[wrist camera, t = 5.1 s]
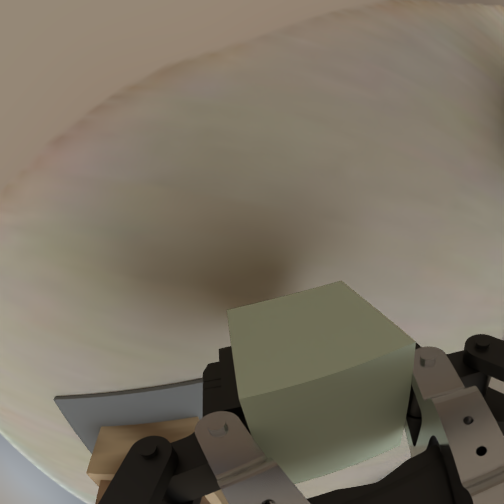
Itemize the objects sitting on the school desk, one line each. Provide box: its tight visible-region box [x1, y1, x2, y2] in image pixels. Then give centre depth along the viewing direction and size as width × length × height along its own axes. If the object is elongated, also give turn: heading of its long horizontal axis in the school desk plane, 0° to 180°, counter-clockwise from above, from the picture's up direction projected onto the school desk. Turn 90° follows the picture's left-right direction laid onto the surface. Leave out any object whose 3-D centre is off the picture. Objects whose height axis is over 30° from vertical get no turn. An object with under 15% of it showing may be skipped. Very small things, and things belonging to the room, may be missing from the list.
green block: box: [227, 281, 416, 484], centre depth 9 cm, size 4×4×5 cm
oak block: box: [87, 417, 229, 504], centre depth 17 cm, size 8×8×5 cm
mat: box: [54, 379, 203, 453], centre depth 19 cm, size 14×14×1 cm
